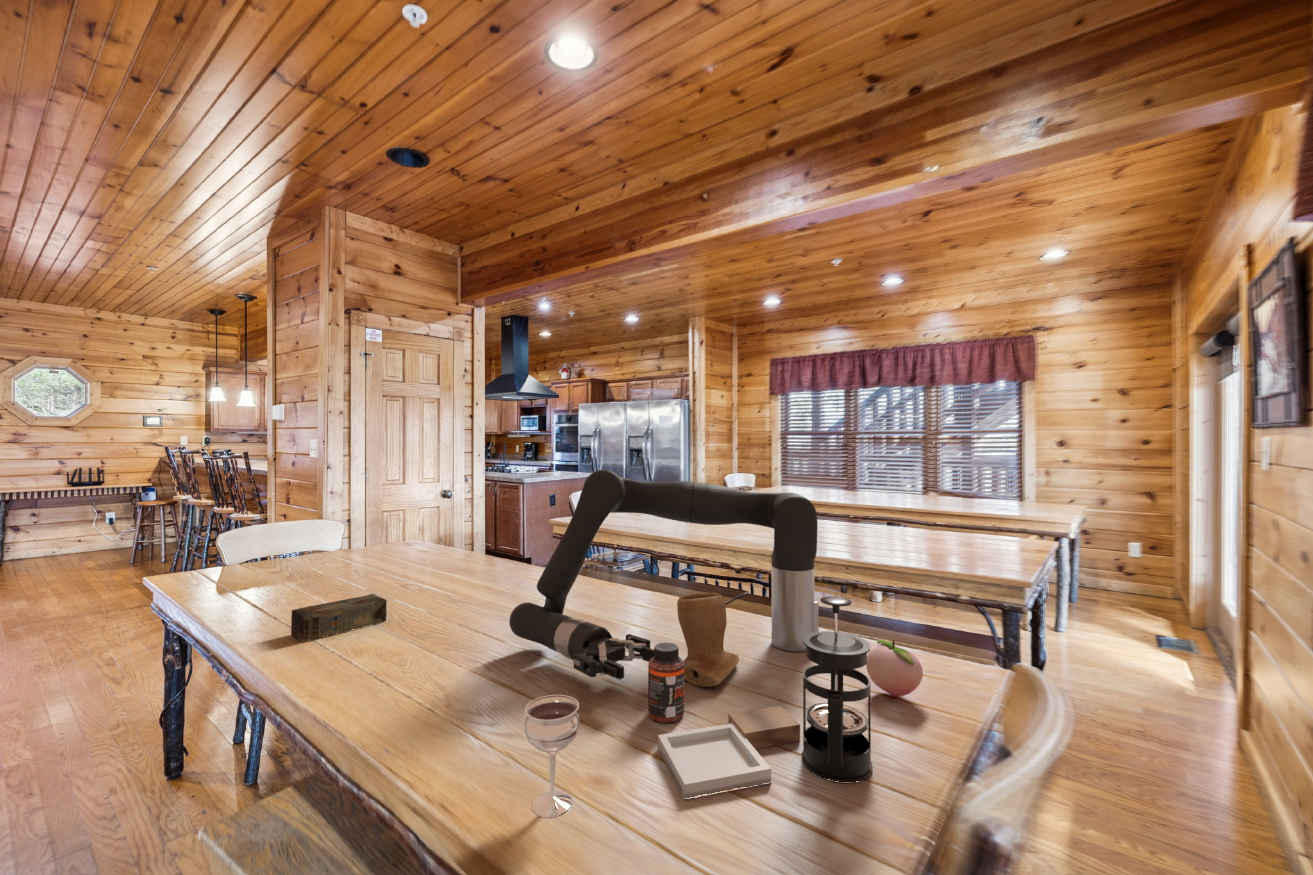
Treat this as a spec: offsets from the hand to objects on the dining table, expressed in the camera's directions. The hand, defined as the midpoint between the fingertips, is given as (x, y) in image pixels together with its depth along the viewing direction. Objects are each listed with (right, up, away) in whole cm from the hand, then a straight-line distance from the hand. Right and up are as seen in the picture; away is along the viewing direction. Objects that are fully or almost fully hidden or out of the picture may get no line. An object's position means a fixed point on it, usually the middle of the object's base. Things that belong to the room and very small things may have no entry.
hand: (641, 665), depth 94 cm
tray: (+10, -6, -18) cm, 22 cm away
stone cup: (+12, -7, +13) cm, 19 cm away
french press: (+28, -7, -18) cm, 34 cm away
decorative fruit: (+44, -7, +2) cm, 45 cm away
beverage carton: (-73, -7, +38) cm, 83 cm away
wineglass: (-10, -7, -26) cm, 29 cm away
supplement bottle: (+4, -7, -4) cm, 9 cm away
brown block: (+19, -6, -10) cm, 23 cm away
